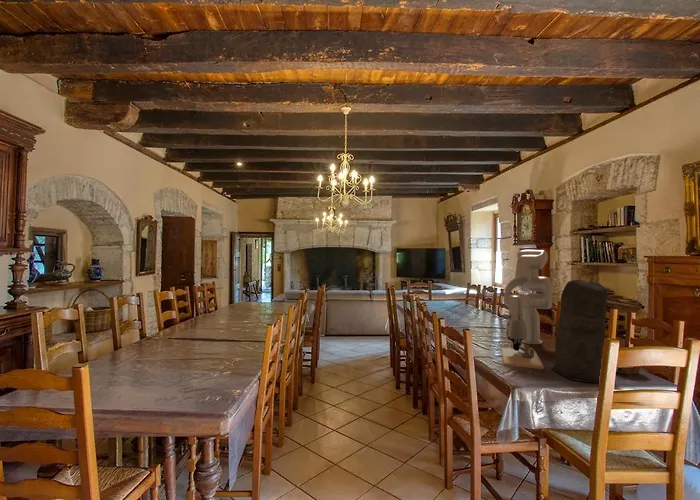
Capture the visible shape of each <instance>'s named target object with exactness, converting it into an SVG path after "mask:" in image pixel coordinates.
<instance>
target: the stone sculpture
mask: <svg viewBox="0 0 700 500" xmlns="http://www.w3.org/2000/svg"><path fill="white" fill-rule="evenodd" d="M608 298H609V293H608V291H607V289H606V287H605V286H604V285H602V284H601V283H599V282H593V281H586V280H584V279H583V280H582V279H574V280H573V279H572V280H570V281H568V282H566V284H565V286H564V287H563V289H562V292H561V297H560V310H559V314H558V315H559V317H558V320H557V328H556V336H555V344H554V345H555V351H554V352H555V353H554V354H555V355H554V356H555V358H554V365H549V367H550V368H551V369H552V370H554V371H555V372H557V373H558V374H560V375H561V376H564V377H566V378H568V379H570V380H573V381H577V382H584V383H585V382H586V383H592V384H595V383H597V384H599V383H600V382H599V376H600V369H601V358H602V347H603V340H604V339H605V340H606V335H605V332H606V319H607V310H608Z"/></svg>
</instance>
